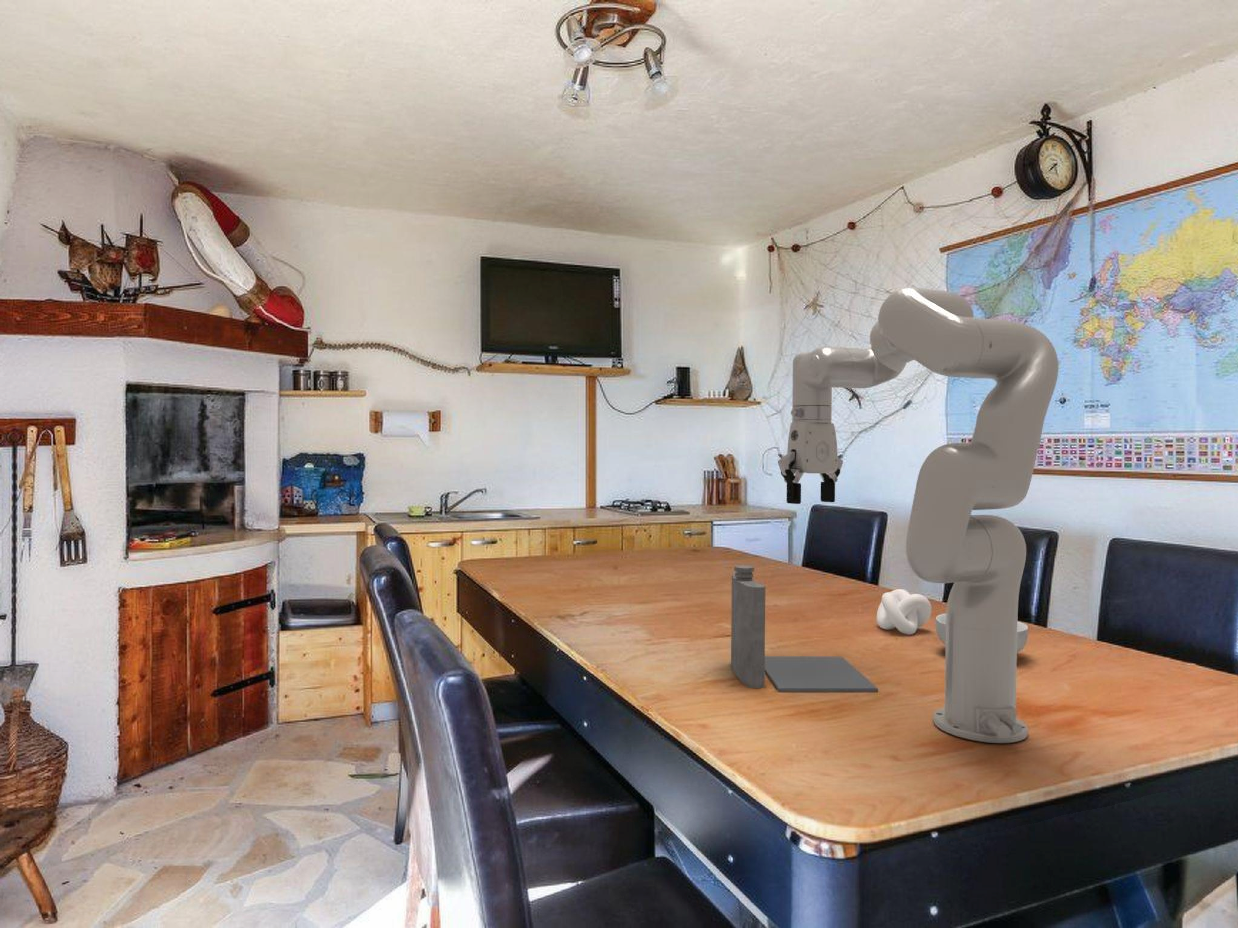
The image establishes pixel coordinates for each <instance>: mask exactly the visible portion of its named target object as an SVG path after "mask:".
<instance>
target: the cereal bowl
mask: <svg viewBox="0 0 1238 928" xmlns="http://www.w3.org/2000/svg"><path fill="white" fill-rule="evenodd" d="M935 632H936V635H937V637H938V639H939V640H940V641H941V642H942V644H944V645H945V646H946V613H941V614H939V615H937V616H936V617H935ZM1028 635H1029V627H1028V625H1027V624H1026V623H1023V622H1020V621H1018V624H1017V654H1019V652H1021V651H1022V650H1023V649H1024V648H1025V647H1026V644H1027V641H1028V637H1029V636H1028Z"/></svg>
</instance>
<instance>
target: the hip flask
mask: <svg viewBox="0 0 1238 928" xmlns="http://www.w3.org/2000/svg"><path fill="white" fill-rule="evenodd" d="M734 571H735V572H731V602H730V603H731V604H730V605H731V611H730V612H731V616H730V619H731V620H730V621H731V623H730V626H731V627H730V628H731V629H730V630H731V631H730V669H731V671H732V673H733V674H734V676H735V677H736V678H737V679H738V680H739V681H740V682H741V683H742V684H743V685H745V686H746V687H748V688H751V689H762V688H764V687H765V683H766V682H765V676H766V673H765V656H766V655H765V654H766V585H764V584H762V583H759V582H757V581H756V580H755V579H753V578H754V573H753V572H755V566H753V565H746V564H743V565H742V564H739V565H734Z"/></svg>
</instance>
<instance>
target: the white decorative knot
mask: <svg viewBox="0 0 1238 928" xmlns="http://www.w3.org/2000/svg"><path fill="white" fill-rule="evenodd" d="M931 615H932V605H931V602H930V600H929V599H928V598H927V597H926V596H925V595H922V594H919V593H910V592H908V591H907V590H906V589H902V588H897V589H894V590H892V591H888V592H885V593H882V595H881V602H880V603H879V606H878V608H877V612H876V617H875V618H876V623H877V625H878V627H880V628H881V629H883V630H886V631H888V630H890V631H891V630H894V629H895V628H896V629H897V630H898V631H899V633H901V634H904V635H907V636H910V635H914V633H916V632H917V630H918V629H919V628H921V627H923V626H924V625H925V624H926V623H927V622H928V621H929V620H930V617H931Z"/></svg>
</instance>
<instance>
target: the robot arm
mask: <svg viewBox="0 0 1238 928" xmlns="http://www.w3.org/2000/svg"><path fill="white" fill-rule="evenodd" d="M974 316H975V315H974V311H973V307H972V305H971V304H970V302H969V301H968V300H967V299H966V298H965V297H964V296H963V295H960V294H958V293H956V292H953V291H949V290H941V289H930V288H922V287H909V286H908V287H903V288H899V289H898V290H895V291H893V292H891V294H890V295H889V296H887V297H886V299H884V300H883V303H882V304H881V306H880V308H879V311H878V316H877V321H876V322H875V323H874V325H873V326H872V328H871V331H870V334H869V344H870V347H868V348H858V347H856V348H855V347H842V346H840V347H837V346H821V347H819V348H816V349H814V350H812V351H810V352H802V353H798V354H796V355H795V356H794V357H793V360H792V406H791V407H792V409H791V411H790V415H791V416H792V417H791V420H792V421H791V423H790V426H789V432H788V437H787V450H786V451H787V452H786V455H784V456H783V457H781V458H779V459H778V461H777V465H778V466H779V470H780V474H781V476H782V478H783V481H784V483H786V503H787V504H791V505H792V504H793V505H800V504H801V503H802V483H801V482H800V480H801V478H802V477H803V475H804V474H819V476H820V478H821V480H822V481H820V501H821V502H823V503H835V502H836V483H837V482H838V477H839V476H840V474H841V470H842V467H843V464H844V461H843V459H842V458H840V457H839V455H838V442H837V441H838V440H837V432H836V429H835V427H836V426H835V424H834V423H833V422H832V405H833V403H832V402H833V401H832V398H833V397H832V396H833V393H832V392H833V389H832V388H838V389H839V388H840V389H843V388H844V389H846V388H847V389H868V388H872V387H876V386H879V385H881V384H883V383H887V382H888V381H891V380H894V379H896V378H897V377H899V376H900V374H902V371H903V370H904V369H905V367H906V366H907V363H910V362H912V361H916V362H917V363H918V364H920V365H922V366H923V367H924V368H926V369H927V370H929V371H930V372H933V373H934V374H937V375H940V376H944V377H949V378H964V379H965V378H966V379H968V378H969V379H992V380H994V382H996V384H995V386H994V387H993V388H992V389H991V390H990V391H989V393H988V394H987V395H986V397H985V399H984V400H983V401H982V403H981V405H980V407H979V410H978V412H977V416H976V422H975V426H974V430H973V434H972V438H971V440H970V442H953V443H947V444H943V445H941V446H938V447H936V448H935V449H934V450H933V451H931V452H930V453H929V454H928V456H927V457H926V458H925V459H924V461H923V463H922V465H921V467H920V469H919V472H918V475H917V479H916V484H915V490H914V494H913V500H912V501H913V502H912V506H911V511H910V517H909V522H908V527H907V533H906V540H905V541H906V542H905V553H906V558H907V562H908V565H909V567H910V569H911V571H912V572H913V574H915V576H916V577H918V578H919V579H921V580H923V581H925V582H927V583H932V584H951V583H953V585H952V587H951V589H950V592H949V595H948V599H947V602H946V645H945V662H944V663H945V664H944V667H945V671H944V673H945V674H944V675H945V676H944V679H945V680H944V707H942V708H939V709H937V710H936V711H934V713H933V723H934V724H935V726H936V727H937V728H939V729H940V730H942V731H943V732H945V733H948V734H949V735H952V736H955V737H959V738H961V739H966V740H970V741H974V742H982V743H989V744H991V743H992V744H1011V743H1018V742H1020V741H1022V740H1025V739H1026V738H1027V737H1028V731H1029V729H1028V725H1027V724H1026V723H1025V722H1024V721H1022V720H1021V719H1020V718H1018V717H1017V670H1018V669H1017V666H1018V665H1017V662H1018V661H1017V660H1018V656H1017V655H1018V653H1017V624H1018V613H1019V612H1018V611H1019V597H1020V596H1019V595H1020V590H1021V589H1020V588H1021V582H1022V578H1023V573H1024V569H1025V567H1026V566H1025V564H1026V559H1027V544H1026V540H1025V537H1024V534H1023V533H1022V531H1021V529H1019V528H1018V525H1015V523H1013V522H1012V521H1010V519H1006V518H1005V517H1002V516H998V515H993V514H972V512H973V511H983V510H985V511H986V510H1000V509H1001V510H1003V509H1008V508H1013V507H1015V506H1018V505H1020V504H1021V503H1022V502H1023V501H1024V500H1025V498H1026V497H1027V495H1028V492H1029V489H1030V485H1031V481H1032V477H1033V473H1034V469H1035V466H1036V460H1037V455H1038V452H1039V446H1040V442H1041V438H1042V433H1043V428H1044V423H1045V419H1046V415H1047V412H1048V409H1049V406H1050V403H1051V399H1052V398H1053V395H1054V391H1055V388H1056V385H1057V380H1058V378H1059V377H1058V376H1059V359H1058V354H1057V351H1056V349H1055V346H1054V345H1053V343H1052V342H1051V340H1050V339H1049V338H1048V336H1047V335H1046V334H1044V333H1043V332H1042V331H1040V330H1038V329H1037V328H1035V327H1033V326H1030V325H1028V324H1025V323H1021V322H1017V321H1010V320H1005V319H1003V320H1002V319H995V318H994V319H993V318H982V317H981V318H980V317H978V318H977V317H974ZM799 482H800V483H799Z"/></svg>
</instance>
